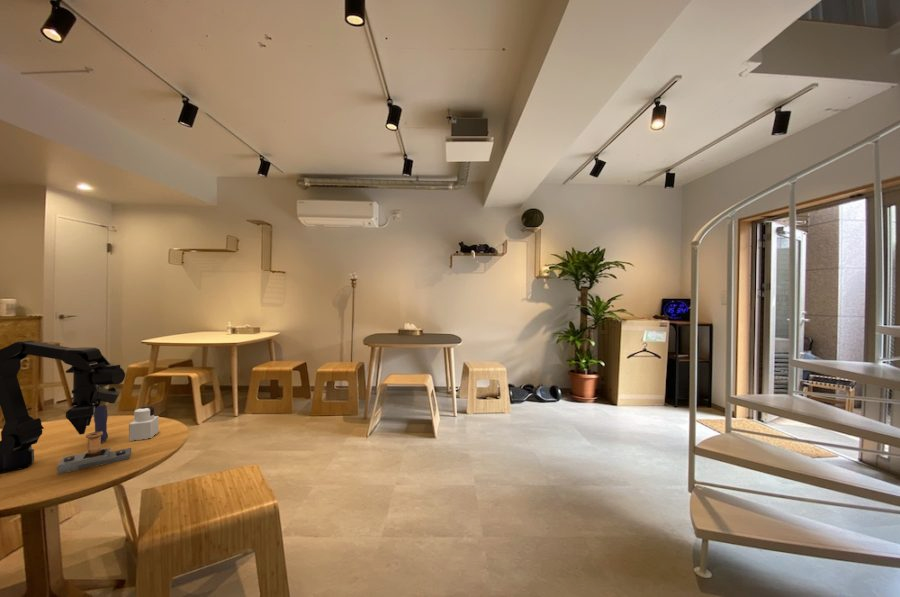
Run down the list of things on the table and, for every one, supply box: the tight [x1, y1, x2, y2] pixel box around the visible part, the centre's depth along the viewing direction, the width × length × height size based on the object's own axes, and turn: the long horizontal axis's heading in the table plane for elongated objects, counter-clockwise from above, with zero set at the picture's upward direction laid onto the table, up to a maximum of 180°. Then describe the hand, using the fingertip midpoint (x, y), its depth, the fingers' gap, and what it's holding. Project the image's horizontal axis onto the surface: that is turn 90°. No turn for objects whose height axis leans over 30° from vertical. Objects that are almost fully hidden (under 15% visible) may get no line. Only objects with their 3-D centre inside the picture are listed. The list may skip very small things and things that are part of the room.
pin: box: [85, 431, 103, 458], centre depth 118 cm, size 4×4×10 cm
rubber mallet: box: [93, 385, 109, 443], centre depth 134 cm, size 12×8×30 cm, turn 50°
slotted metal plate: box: [57, 447, 132, 475], centre depth 118 cm, size 17×7×4 cm, turn 130°
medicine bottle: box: [128, 405, 160, 442], centre depth 139 cm, size 7×7×12 cm
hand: (84, 429), depth 117 cm, fingers open, 9 cm apart
